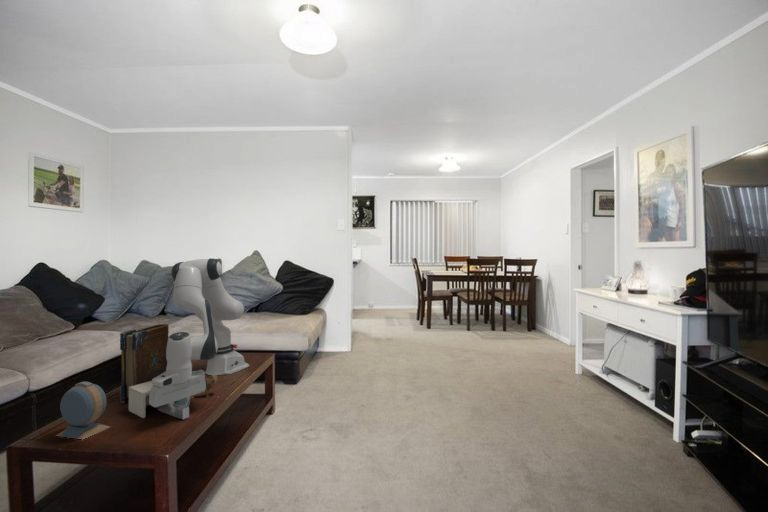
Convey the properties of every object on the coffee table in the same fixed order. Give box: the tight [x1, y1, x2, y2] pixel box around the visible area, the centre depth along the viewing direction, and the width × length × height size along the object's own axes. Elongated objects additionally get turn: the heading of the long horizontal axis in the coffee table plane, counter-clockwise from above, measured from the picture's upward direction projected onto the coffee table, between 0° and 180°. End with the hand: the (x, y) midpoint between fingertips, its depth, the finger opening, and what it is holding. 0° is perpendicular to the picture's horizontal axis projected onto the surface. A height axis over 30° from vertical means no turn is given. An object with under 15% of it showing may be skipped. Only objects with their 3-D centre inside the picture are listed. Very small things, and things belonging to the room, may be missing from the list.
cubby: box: [128, 381, 154, 419], centre depth 149 cm, size 18×12×10 cm, turn 147°
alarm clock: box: [55, 381, 111, 441], centre depth 128 cm, size 14×10×18 cm
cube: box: [174, 398, 191, 407], centre depth 149 cm, size 5×5×5 cm
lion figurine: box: [190, 375, 219, 400], centre depth 160 cm, size 15×5×9 cm, turn 113°
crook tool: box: [156, 402, 190, 420], centre depth 144 cm, size 8×18×4 cm, turn 59°
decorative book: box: [119, 323, 170, 404], centre depth 164 cm, size 23×7×30 cm, turn 177°
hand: (179, 410), depth 139 cm, fingers closed on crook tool, 3 cm apart
